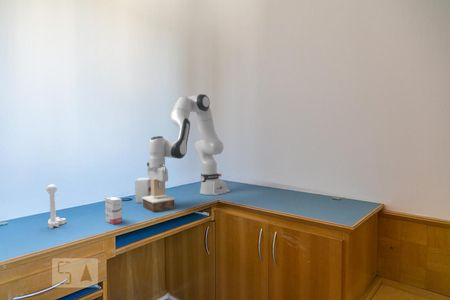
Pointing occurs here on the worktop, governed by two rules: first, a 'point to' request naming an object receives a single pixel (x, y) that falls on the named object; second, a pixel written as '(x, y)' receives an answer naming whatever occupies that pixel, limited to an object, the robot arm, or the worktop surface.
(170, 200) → the podium
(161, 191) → the carton
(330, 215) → the worktop surface
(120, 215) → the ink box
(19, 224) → the worktop surface
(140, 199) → the supplement box
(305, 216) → the worktop surface
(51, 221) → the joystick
